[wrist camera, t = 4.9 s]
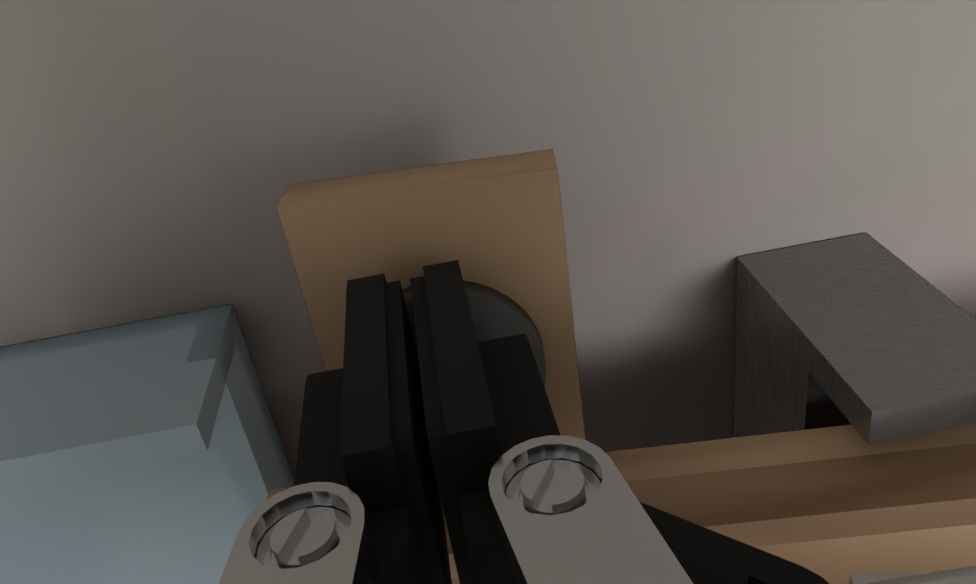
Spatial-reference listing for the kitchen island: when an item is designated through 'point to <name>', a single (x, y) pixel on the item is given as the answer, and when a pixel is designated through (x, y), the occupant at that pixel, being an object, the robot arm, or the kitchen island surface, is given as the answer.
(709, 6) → the kitchen island surface
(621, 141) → the kitchen island surface
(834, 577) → the lever
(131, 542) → the dish
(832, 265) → the grey arch block
